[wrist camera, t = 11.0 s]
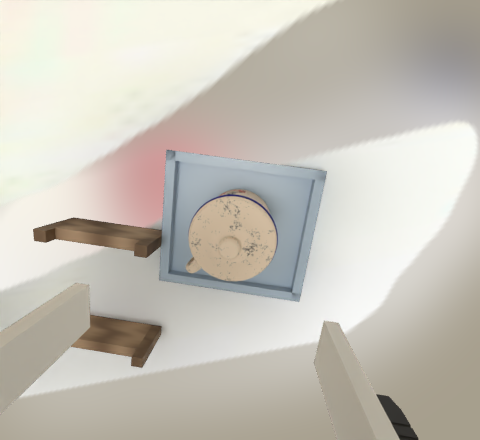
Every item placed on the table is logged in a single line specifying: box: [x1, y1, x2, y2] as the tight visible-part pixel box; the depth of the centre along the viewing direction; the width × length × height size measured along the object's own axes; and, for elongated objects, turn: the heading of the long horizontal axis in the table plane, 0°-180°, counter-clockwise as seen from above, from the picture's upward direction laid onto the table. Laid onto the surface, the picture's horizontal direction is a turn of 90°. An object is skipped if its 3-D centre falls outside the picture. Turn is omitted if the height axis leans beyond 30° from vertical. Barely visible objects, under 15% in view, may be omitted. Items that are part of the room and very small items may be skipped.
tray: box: [159, 150, 327, 302], centre depth 32 cm, size 20×18×2 cm
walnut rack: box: [33, 218, 162, 368], centre depth 33 cm, size 14×18×6 cm
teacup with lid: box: [186, 189, 278, 281], centre depth 27 cm, size 12×9×12 cm
